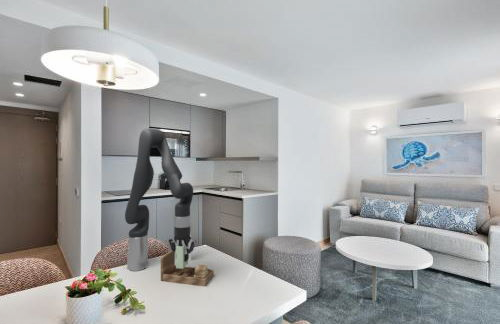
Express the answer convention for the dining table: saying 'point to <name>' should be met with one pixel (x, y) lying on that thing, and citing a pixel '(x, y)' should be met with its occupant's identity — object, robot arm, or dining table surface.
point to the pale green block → (180, 257)
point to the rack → (181, 272)
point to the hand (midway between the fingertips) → (182, 260)
